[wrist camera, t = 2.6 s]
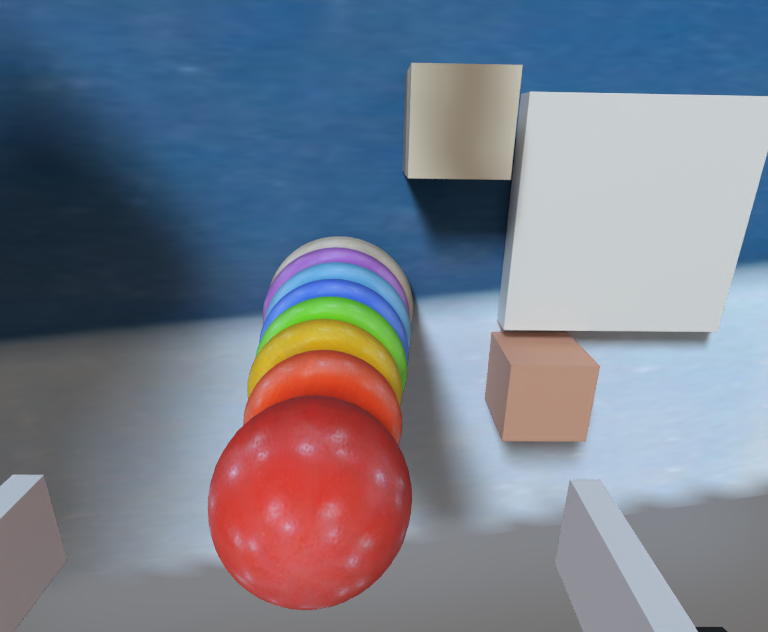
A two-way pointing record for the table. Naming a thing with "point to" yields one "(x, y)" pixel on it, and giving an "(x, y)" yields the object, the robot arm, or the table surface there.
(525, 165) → the white square slab
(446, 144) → the birch block
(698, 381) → the table surface
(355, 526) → the stacking toy
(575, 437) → the terracotta block
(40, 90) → the table surface
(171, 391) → the table surface
